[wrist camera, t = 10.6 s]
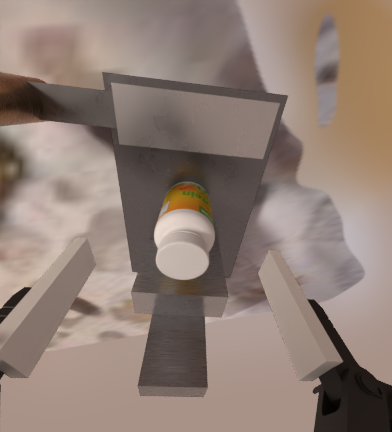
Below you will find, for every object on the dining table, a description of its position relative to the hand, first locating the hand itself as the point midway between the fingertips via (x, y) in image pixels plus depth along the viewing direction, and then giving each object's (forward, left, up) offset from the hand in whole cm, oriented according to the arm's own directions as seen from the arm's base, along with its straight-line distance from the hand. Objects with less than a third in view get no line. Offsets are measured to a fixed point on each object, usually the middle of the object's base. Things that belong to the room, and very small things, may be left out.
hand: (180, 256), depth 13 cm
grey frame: (+1, 0, -11) cm, 11 cm away
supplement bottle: (0, 0, -10) cm, 9 cm away
